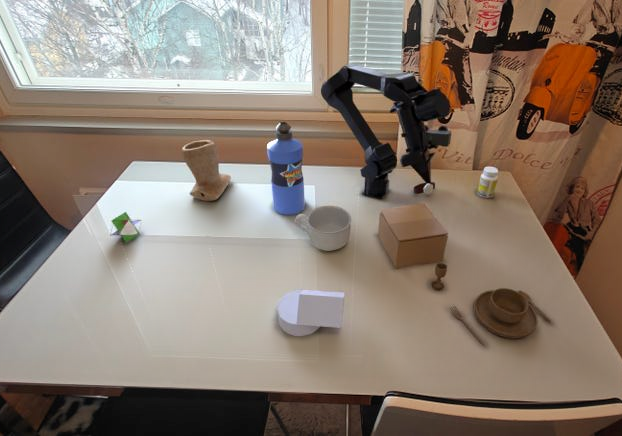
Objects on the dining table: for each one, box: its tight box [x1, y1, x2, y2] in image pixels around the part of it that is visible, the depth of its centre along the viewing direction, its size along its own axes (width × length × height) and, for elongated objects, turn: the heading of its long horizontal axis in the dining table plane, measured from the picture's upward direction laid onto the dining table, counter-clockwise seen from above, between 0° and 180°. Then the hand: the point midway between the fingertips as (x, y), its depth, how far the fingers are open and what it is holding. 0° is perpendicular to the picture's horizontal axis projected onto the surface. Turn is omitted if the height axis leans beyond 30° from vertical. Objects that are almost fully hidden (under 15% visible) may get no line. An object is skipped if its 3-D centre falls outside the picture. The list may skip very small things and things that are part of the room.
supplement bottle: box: [476, 166, 499, 199], centre depth 116 cm, size 5×5×8 cm
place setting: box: [430, 262, 552, 346], centre depth 80 cm, size 18×20×6 cm
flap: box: [379, 203, 436, 225], centre depth 95 cm, size 6×12×1 cm, turn 103°
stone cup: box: [181, 139, 232, 202], centre depth 115 cm, size 15×12×15 cm
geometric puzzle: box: [109, 211, 142, 244], centre depth 98 cm, size 7×7×8 cm
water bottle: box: [266, 121, 306, 216], centre depth 105 cm, size 9×9×25 cm
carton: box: [377, 211, 449, 269], centre depth 94 cm, size 13×12×8 cm
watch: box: [413, 181, 436, 195], centre depth 118 cm, size 8×5×4 cm, turn 122°
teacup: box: [294, 205, 352, 252], centre depth 96 cm, size 14×11×8 cm
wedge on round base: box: [276, 289, 346, 337], centre depth 76 cm, size 9×7×13 cm
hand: (428, 182), depth 102 cm, fingers closed
